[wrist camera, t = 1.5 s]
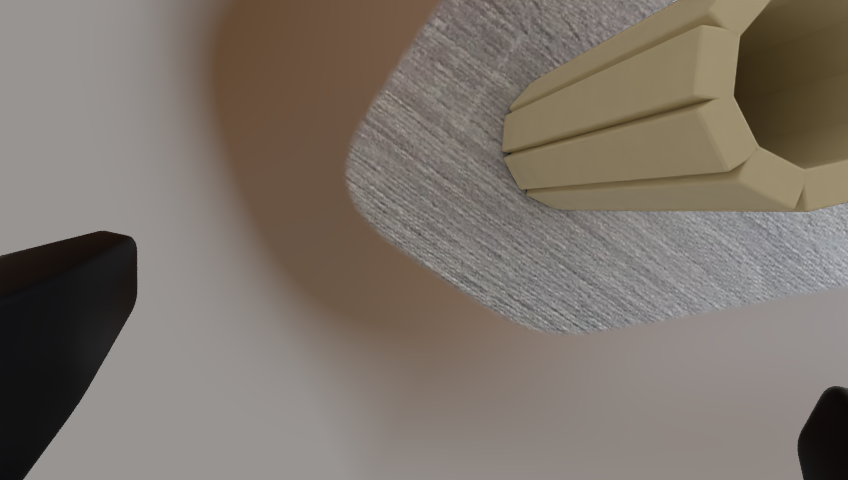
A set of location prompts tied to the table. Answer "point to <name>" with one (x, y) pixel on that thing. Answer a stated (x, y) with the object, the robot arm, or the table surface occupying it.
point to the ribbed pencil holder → (694, 113)
